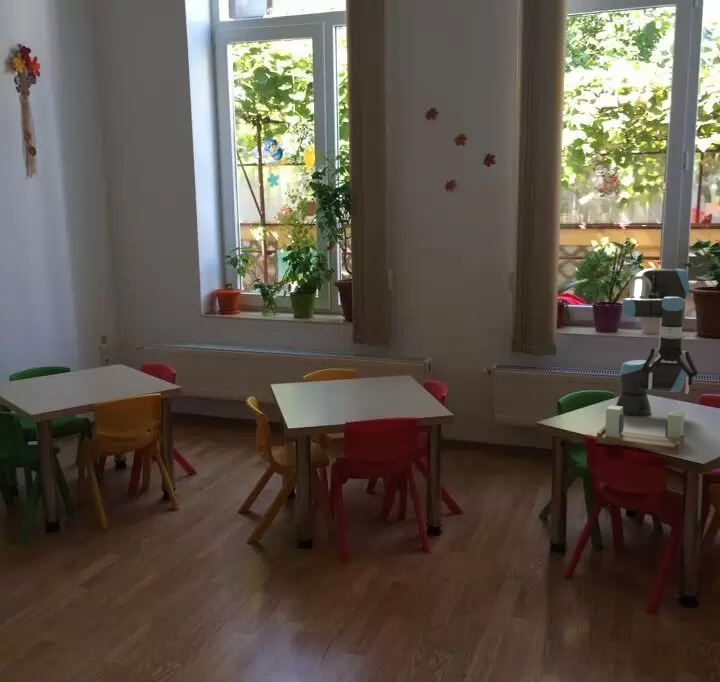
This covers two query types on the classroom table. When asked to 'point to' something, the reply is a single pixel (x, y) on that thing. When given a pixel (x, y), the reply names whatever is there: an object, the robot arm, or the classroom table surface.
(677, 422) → the block
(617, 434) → the fixed block
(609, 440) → the rail
